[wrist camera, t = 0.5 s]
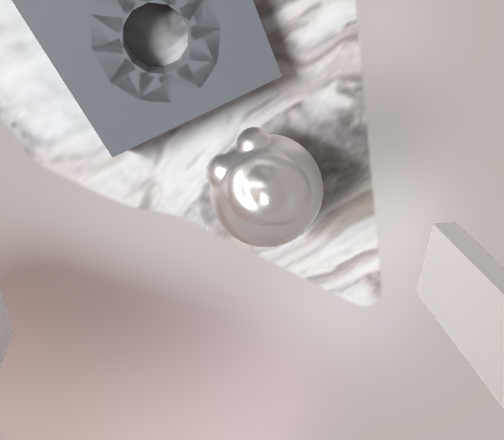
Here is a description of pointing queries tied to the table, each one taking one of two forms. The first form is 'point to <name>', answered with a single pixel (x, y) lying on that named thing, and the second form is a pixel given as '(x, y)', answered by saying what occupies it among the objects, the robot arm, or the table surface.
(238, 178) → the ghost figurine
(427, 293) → the robot arm
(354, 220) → the table surface
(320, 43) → the table surface
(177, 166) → the table surface
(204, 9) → the grey flat block
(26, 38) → the table surface
